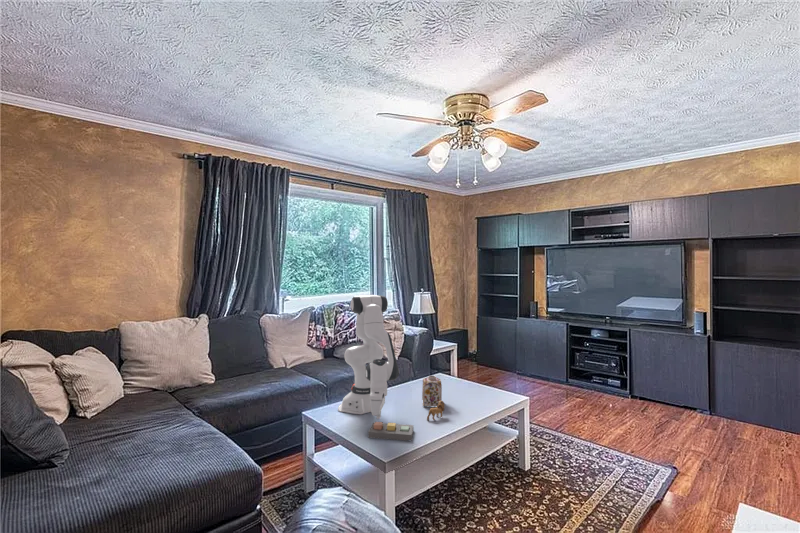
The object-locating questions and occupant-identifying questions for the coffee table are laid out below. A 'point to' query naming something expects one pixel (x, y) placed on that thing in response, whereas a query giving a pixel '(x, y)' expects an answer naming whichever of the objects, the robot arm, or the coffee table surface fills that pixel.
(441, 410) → the lion figurine
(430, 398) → the decorative jar
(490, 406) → the coffee table surface
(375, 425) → the terracotta button
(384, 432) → the button panel
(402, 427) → the sage button
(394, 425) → the ochre button
